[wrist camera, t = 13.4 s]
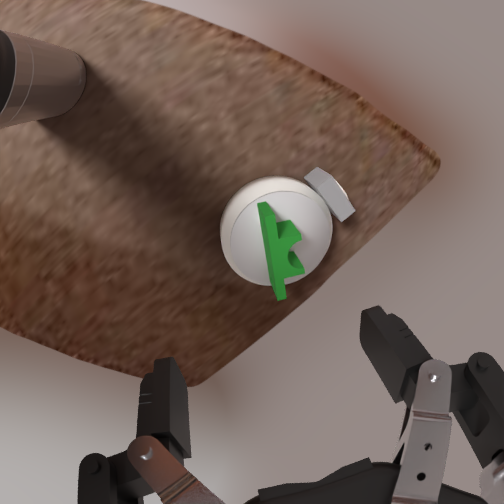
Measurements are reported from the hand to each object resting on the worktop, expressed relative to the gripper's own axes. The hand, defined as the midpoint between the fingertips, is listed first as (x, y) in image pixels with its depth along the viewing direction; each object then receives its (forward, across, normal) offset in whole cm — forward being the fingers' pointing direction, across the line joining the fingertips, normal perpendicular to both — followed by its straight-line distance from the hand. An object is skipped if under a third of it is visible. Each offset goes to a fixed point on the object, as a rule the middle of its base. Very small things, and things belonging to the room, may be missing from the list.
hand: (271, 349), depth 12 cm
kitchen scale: (+30, -7, +8) cm, 32 cm away
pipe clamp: (+26, -5, +9) cm, 28 cm away
